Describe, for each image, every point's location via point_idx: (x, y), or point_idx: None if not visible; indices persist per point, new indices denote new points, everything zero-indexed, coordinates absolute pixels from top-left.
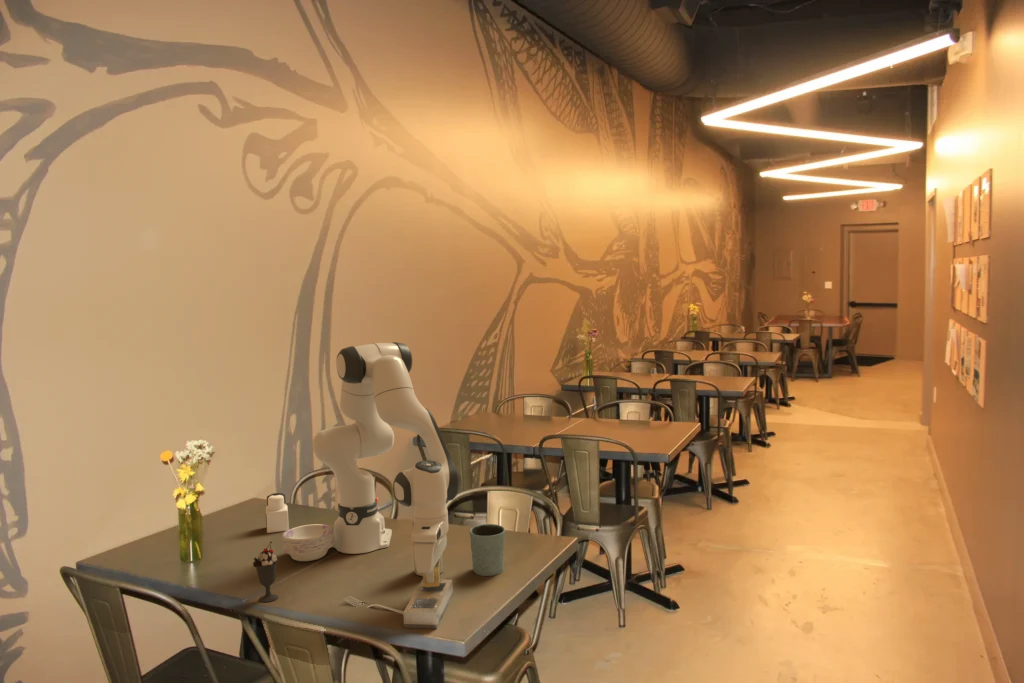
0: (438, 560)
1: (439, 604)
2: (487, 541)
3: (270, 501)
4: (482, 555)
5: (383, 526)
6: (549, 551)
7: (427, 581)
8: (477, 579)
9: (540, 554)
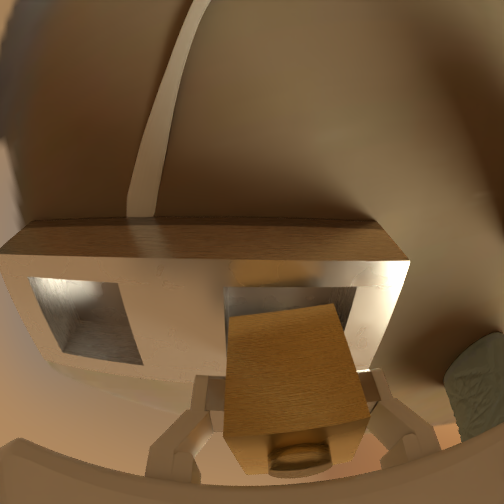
0: (389, 443)
1: (99, 370)
2: None
3: None
4: (473, 411)
5: None
6: None
7: (196, 378)
8: (437, 359)
9: None
